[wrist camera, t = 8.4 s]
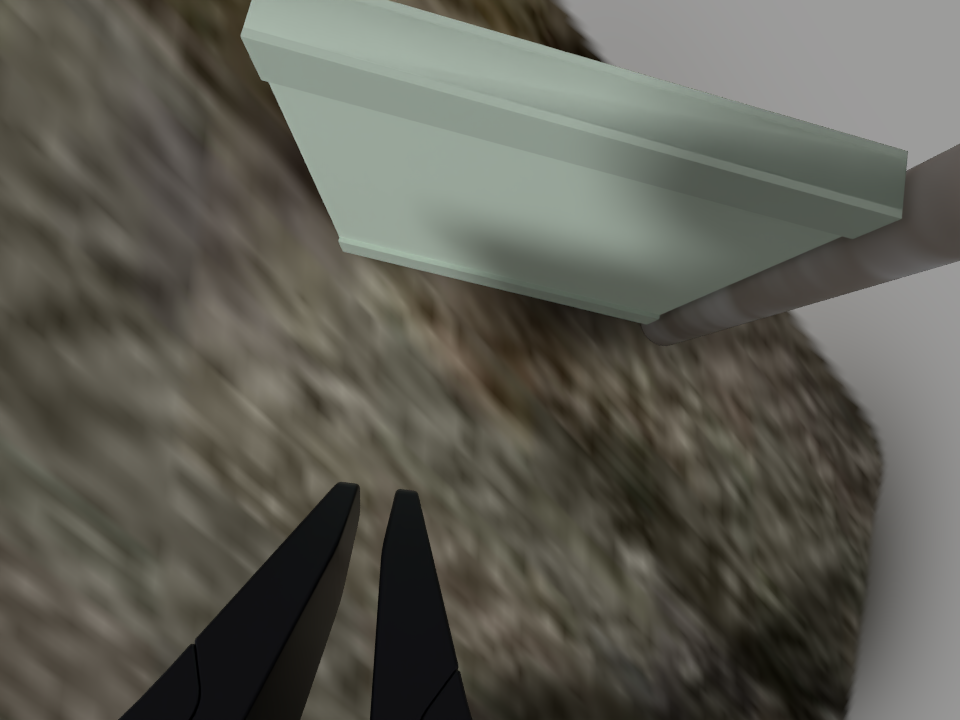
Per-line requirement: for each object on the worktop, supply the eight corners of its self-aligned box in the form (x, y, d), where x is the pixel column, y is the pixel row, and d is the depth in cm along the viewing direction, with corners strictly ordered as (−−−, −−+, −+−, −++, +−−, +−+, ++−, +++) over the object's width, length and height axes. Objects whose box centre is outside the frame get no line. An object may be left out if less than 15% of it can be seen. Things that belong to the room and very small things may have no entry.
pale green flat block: (652, 291, 22) (908, 151, 11) (646, 324, 22) (901, 219, 10) (352, 217, 21) (263, -37, 9) (343, 251, 21) (240, 36, 9)
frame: (695, 268, 24) (1048, 77, 11) (682, 350, 24) (1038, 259, 10) (359, 180, 23) (263, -177, 9) (335, 265, 22) (196, 20, 9)
